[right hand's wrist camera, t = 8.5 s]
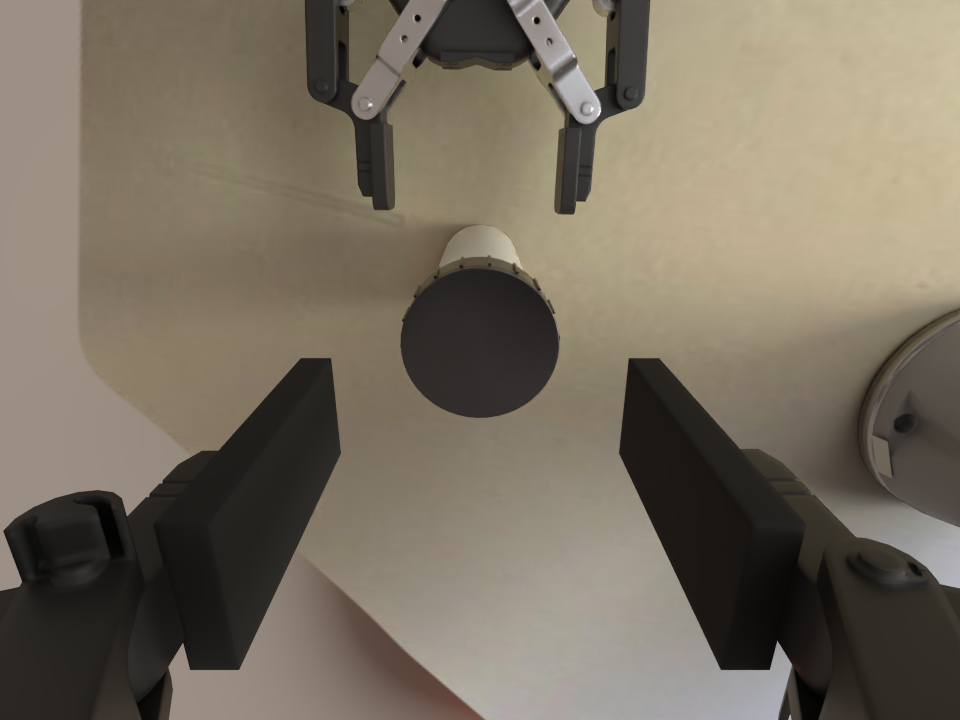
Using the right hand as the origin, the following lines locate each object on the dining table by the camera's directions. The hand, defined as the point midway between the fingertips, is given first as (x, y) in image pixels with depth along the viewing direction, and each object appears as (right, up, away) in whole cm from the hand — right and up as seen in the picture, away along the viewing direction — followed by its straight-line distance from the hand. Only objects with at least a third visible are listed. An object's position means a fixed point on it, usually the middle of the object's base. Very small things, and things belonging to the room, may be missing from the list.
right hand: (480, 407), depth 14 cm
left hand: (0, +8, +12) cm, 14 cm away
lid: (0, +2, +5) cm, 5 cm away
